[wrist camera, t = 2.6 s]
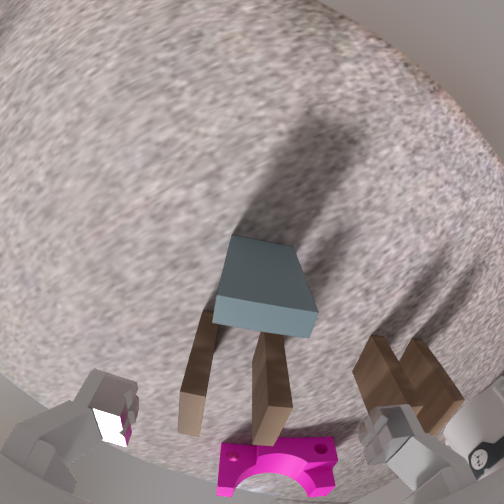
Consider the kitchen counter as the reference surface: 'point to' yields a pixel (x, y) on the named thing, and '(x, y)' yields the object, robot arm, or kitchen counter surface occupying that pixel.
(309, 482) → the toy block
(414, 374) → the domino
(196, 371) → the domino
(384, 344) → the domino
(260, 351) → the domino
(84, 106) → the kitchen counter surface
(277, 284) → the domino
